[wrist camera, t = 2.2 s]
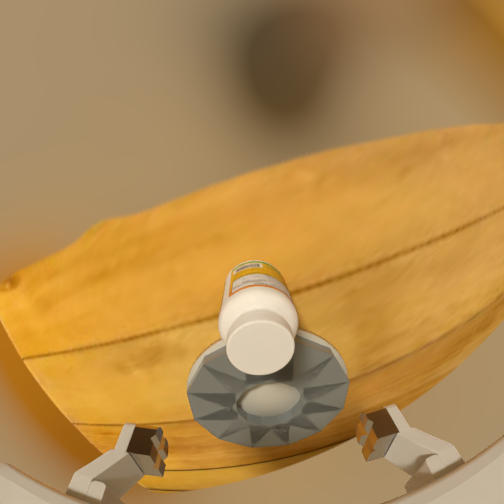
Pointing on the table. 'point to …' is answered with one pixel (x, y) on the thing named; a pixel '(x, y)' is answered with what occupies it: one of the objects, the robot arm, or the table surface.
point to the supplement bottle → (257, 318)
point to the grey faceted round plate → (269, 394)
